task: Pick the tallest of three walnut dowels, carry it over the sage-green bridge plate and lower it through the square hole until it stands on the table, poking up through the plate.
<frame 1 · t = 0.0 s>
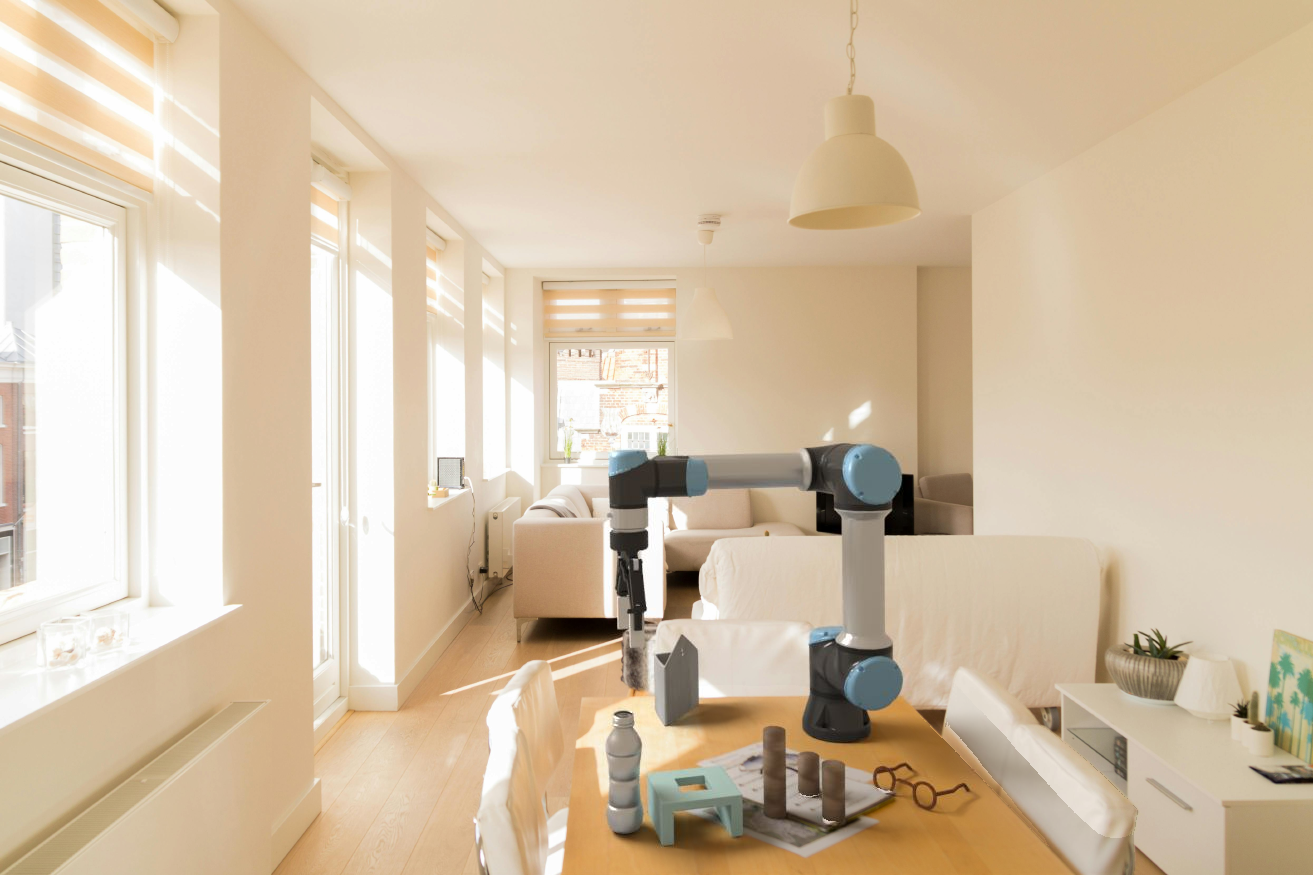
hand: (630, 637, 159), 28 cm above the table, fingers open, 13 cm apart
bridge: (693, 822, 142), on the table
glasses: (921, 792, 154), on the table
pin long: (775, 812, 145), on the table
plastic bottle: (625, 829, 140), on the table
pin medium: (833, 820, 142), on the table
pin short: (808, 792, 153), on the table
planter: (669, 712, 195), on the table
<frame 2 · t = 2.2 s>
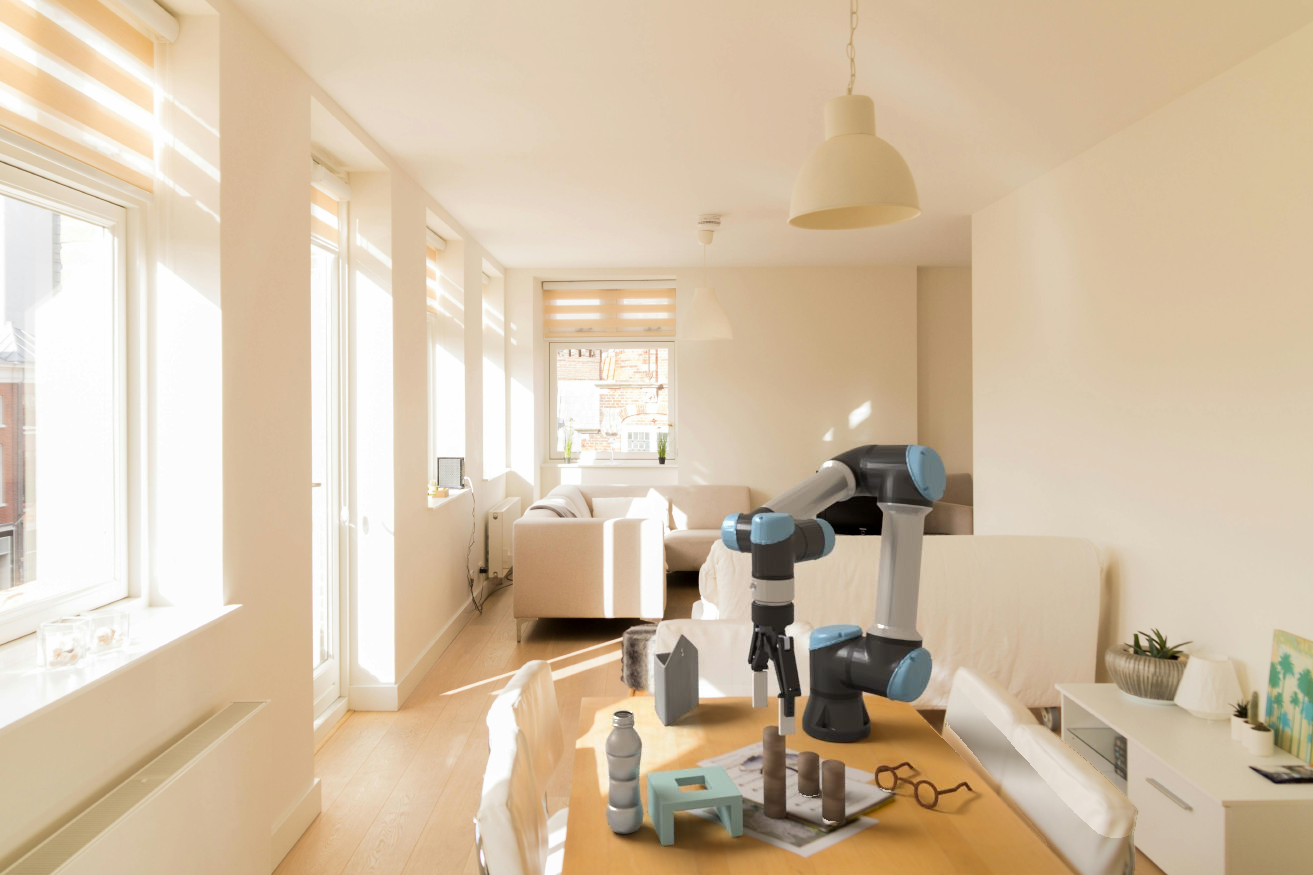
hand: (772, 719, 144), 17 cm above the table, fingers open, 13 cm apart
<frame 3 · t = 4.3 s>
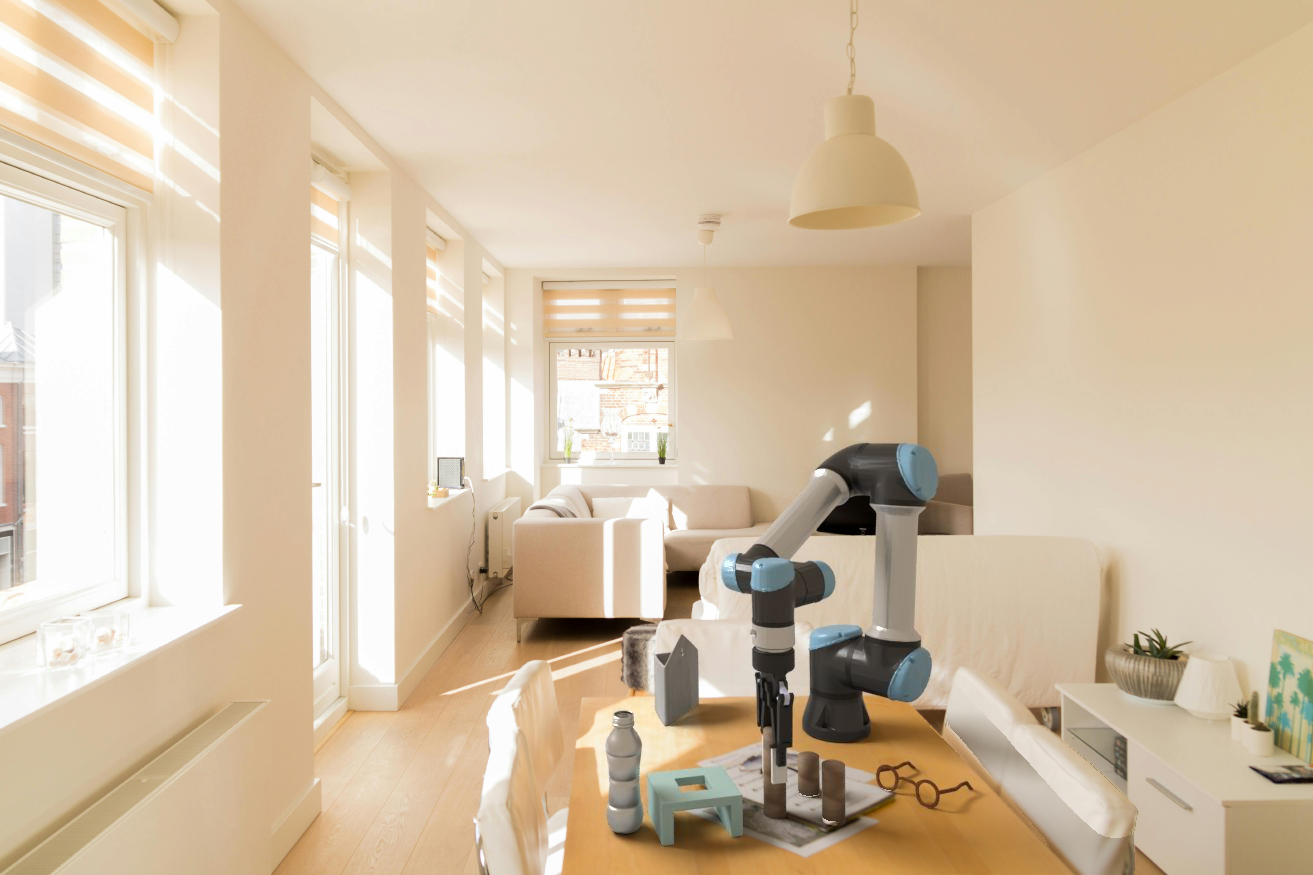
hand: (774, 776, 145), 7 cm above the table, fingers closed on pin long, 4 cm apart
pin long: (775, 812, 145), on the table, touching gripper
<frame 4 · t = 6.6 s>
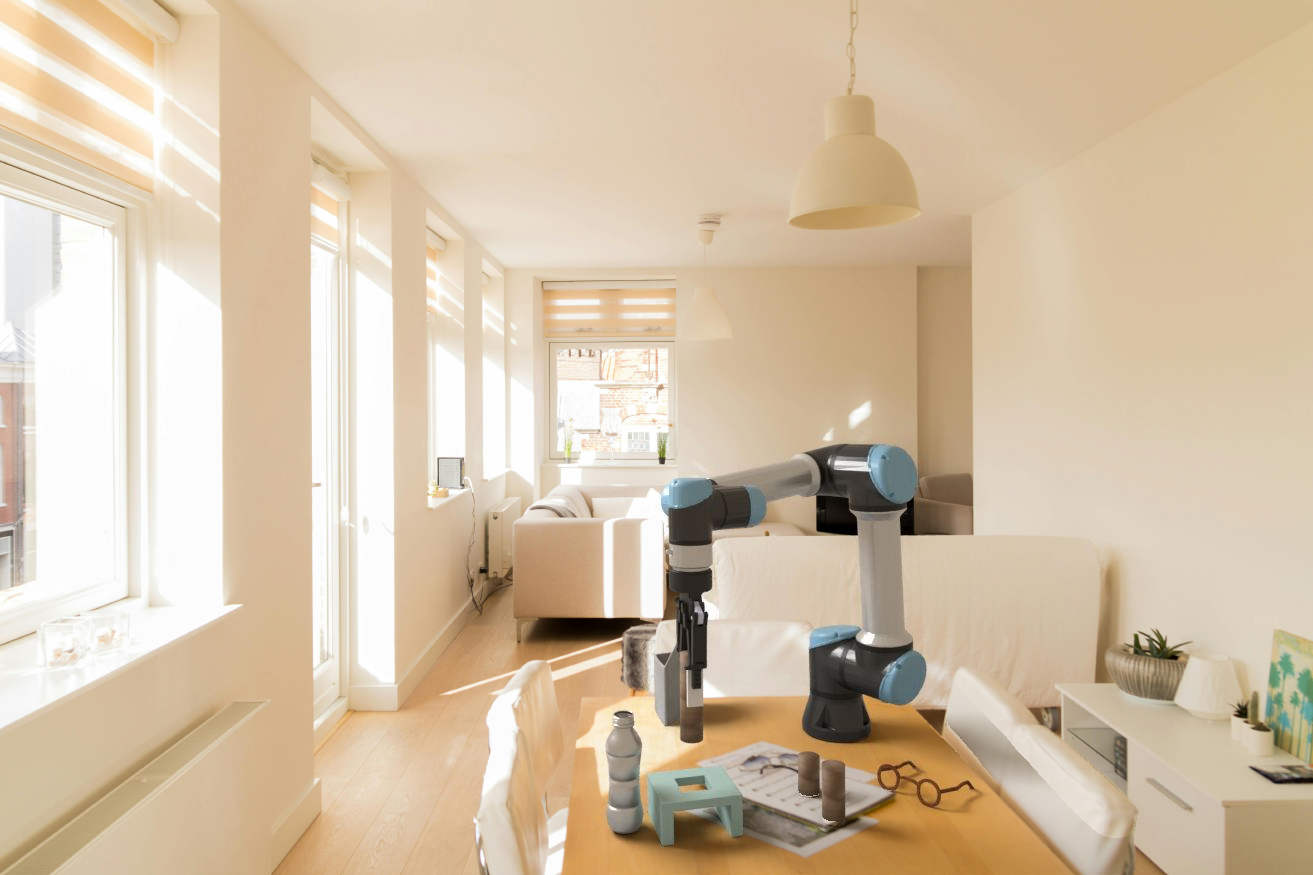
hand: (691, 700, 141), 22 cm above the table, fingers closed on pin long, 4 cm apart
pin long: (691, 738, 141), point 15 cm above the table, touching gripper
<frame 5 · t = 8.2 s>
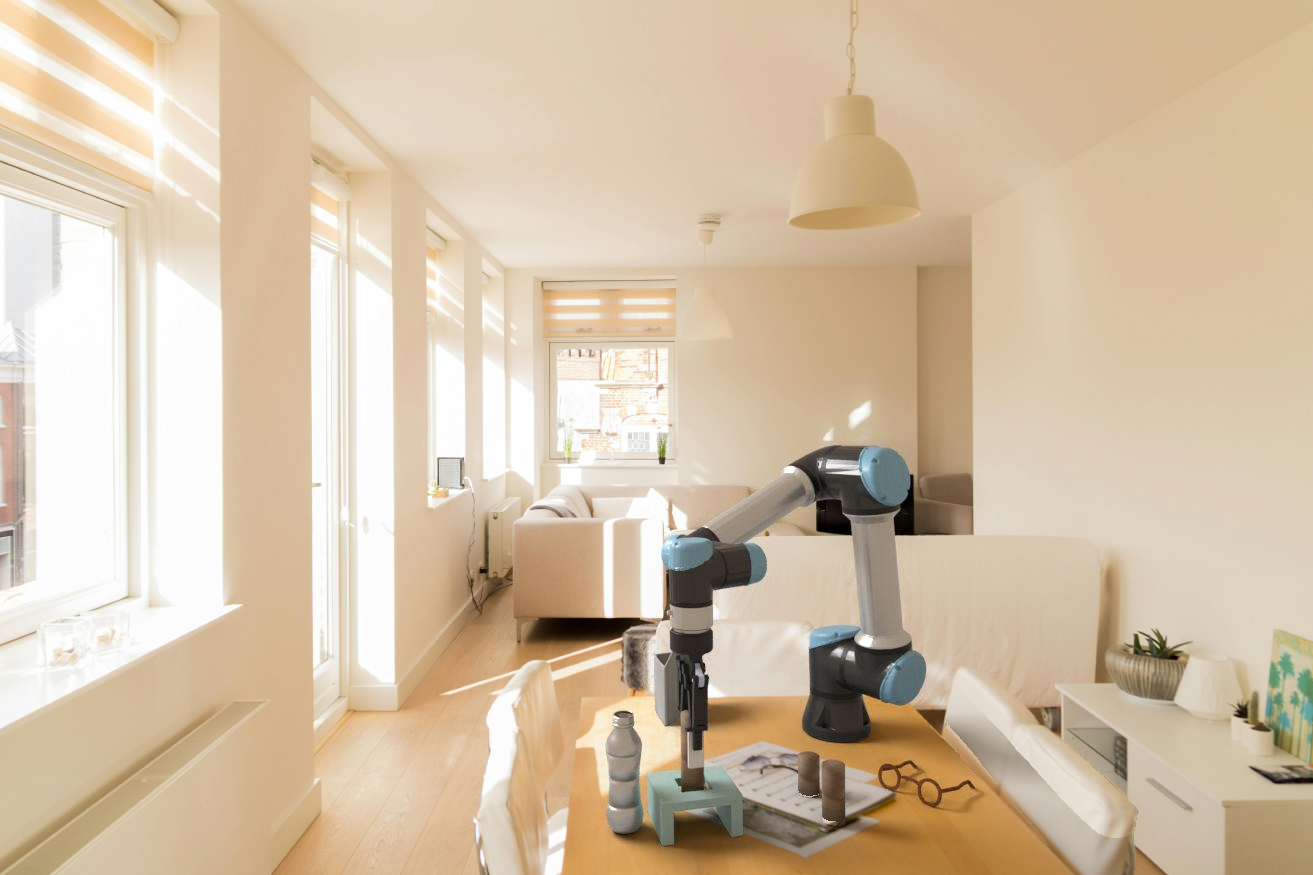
hand: (692, 760, 142), 11 cm above the table, fingers closed on pin long, 4 cm apart
pin long: (692, 798, 142), point 4 cm above the table, touching gripper
when the fingers open (9 cm above the table, at t = 9.4 s): pin long drops 2 cm, on the table.
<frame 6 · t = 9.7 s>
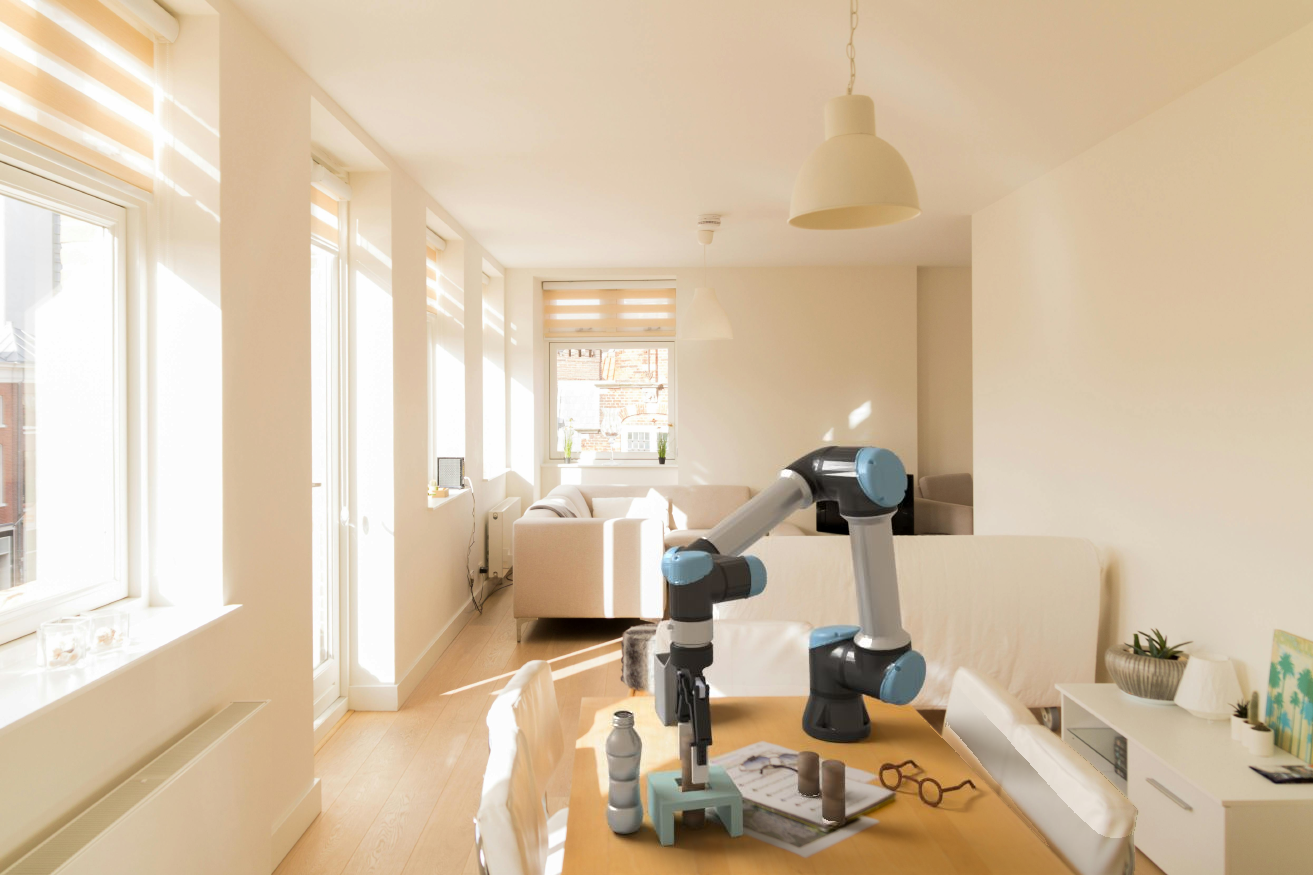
hand: (693, 769, 142), 9 cm above the table, fingers open, 9 cm apart
pin long: (693, 822, 142), on the table
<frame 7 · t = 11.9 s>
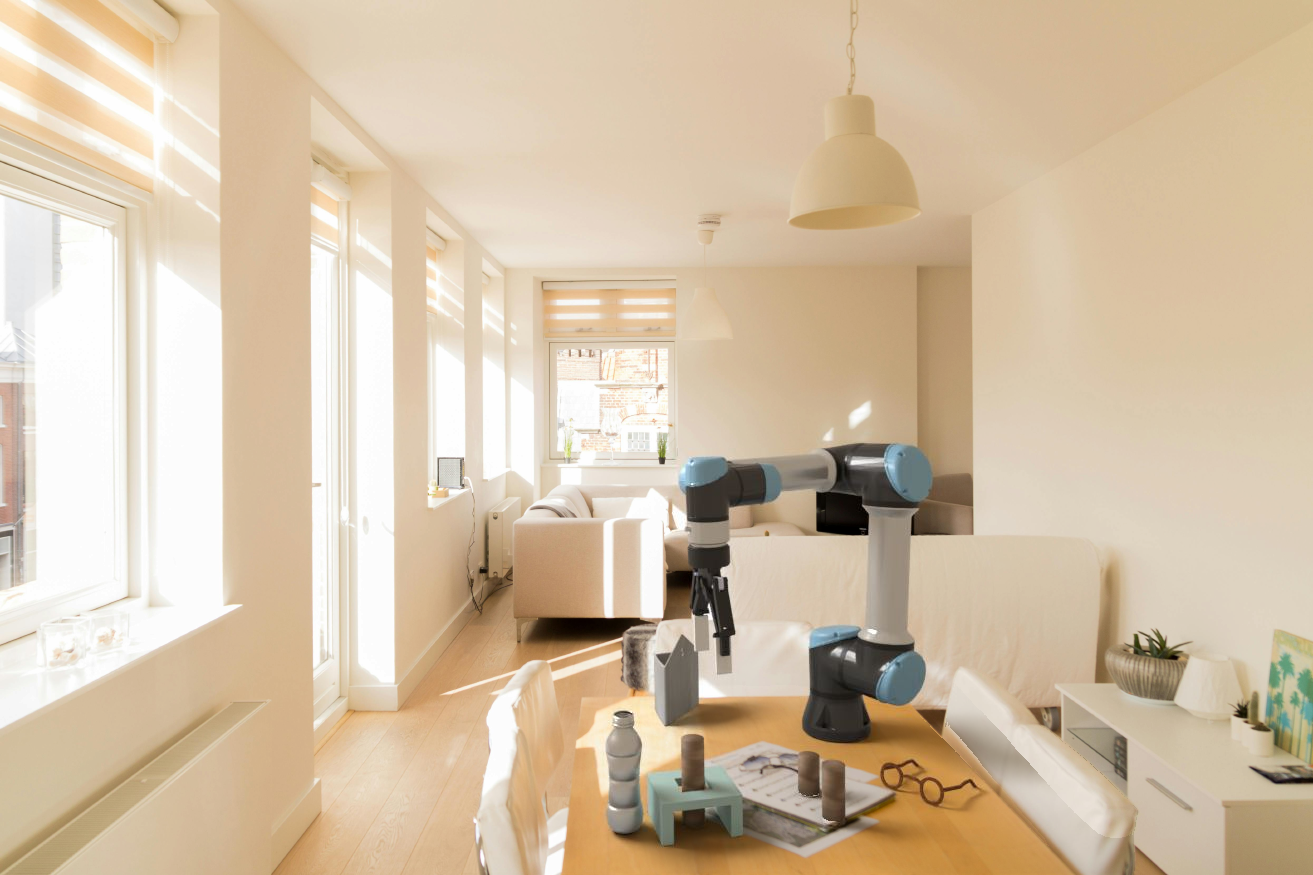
hand: (712, 661, 145), 27 cm above the table, fingers open, 13 cm apart
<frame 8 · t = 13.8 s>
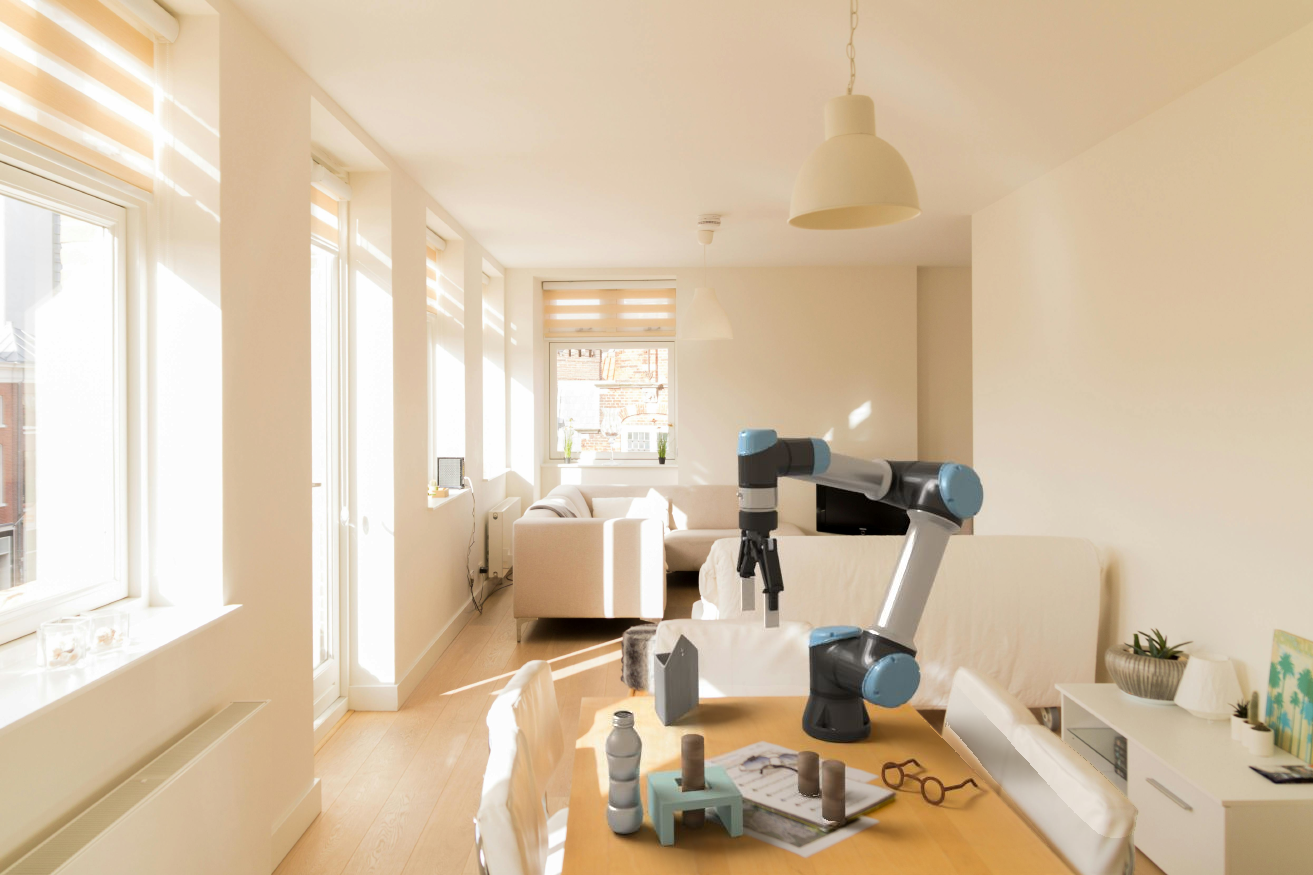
hand: (759, 618, 157), 32 cm above the table, fingers open, 13 cm apart
at the end: pin long 0.0 cm off-centre on the bridge, point 0.0 cm above the bridge's base; pin long tilted 0°; the gripper is holding nothing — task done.
